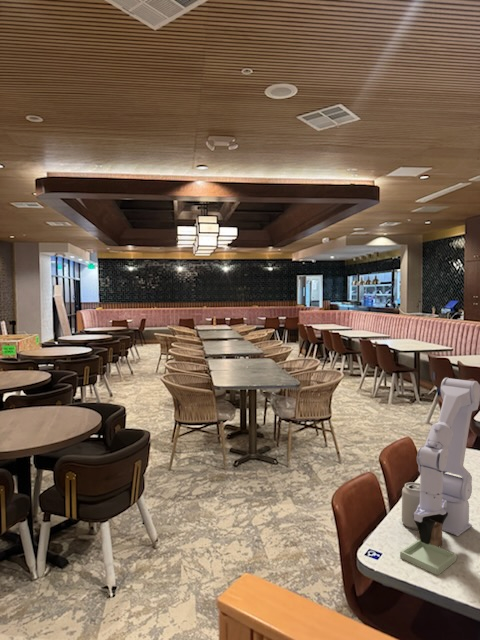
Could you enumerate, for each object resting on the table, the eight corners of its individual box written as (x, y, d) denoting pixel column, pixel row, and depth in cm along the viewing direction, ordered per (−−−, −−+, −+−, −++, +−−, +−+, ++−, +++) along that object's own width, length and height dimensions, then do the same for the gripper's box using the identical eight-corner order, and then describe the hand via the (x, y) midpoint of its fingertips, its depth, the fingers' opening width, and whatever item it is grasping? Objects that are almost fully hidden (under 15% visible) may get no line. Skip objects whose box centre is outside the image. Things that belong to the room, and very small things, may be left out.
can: (406, 516, 142) (407, 478, 141) (431, 524, 137) (432, 485, 137) (397, 525, 136) (398, 486, 136) (423, 533, 131) (424, 493, 131)
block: (426, 538, 129) (426, 517, 128) (441, 545, 125) (442, 523, 125) (418, 544, 126) (418, 523, 125) (434, 551, 122) (434, 529, 122)
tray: (419, 544, 125) (419, 539, 125) (456, 560, 118) (456, 554, 118) (400, 557, 119) (400, 551, 119) (437, 575, 111) (437, 568, 111)
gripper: (432, 502, 117) (430, 554, 118) (457, 488, 126) (456, 536, 127) (406, 493, 122) (405, 543, 123) (433, 481, 132) (432, 527, 132)
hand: (429, 539), depth 125 cm, fingers open, 5 cm apart
